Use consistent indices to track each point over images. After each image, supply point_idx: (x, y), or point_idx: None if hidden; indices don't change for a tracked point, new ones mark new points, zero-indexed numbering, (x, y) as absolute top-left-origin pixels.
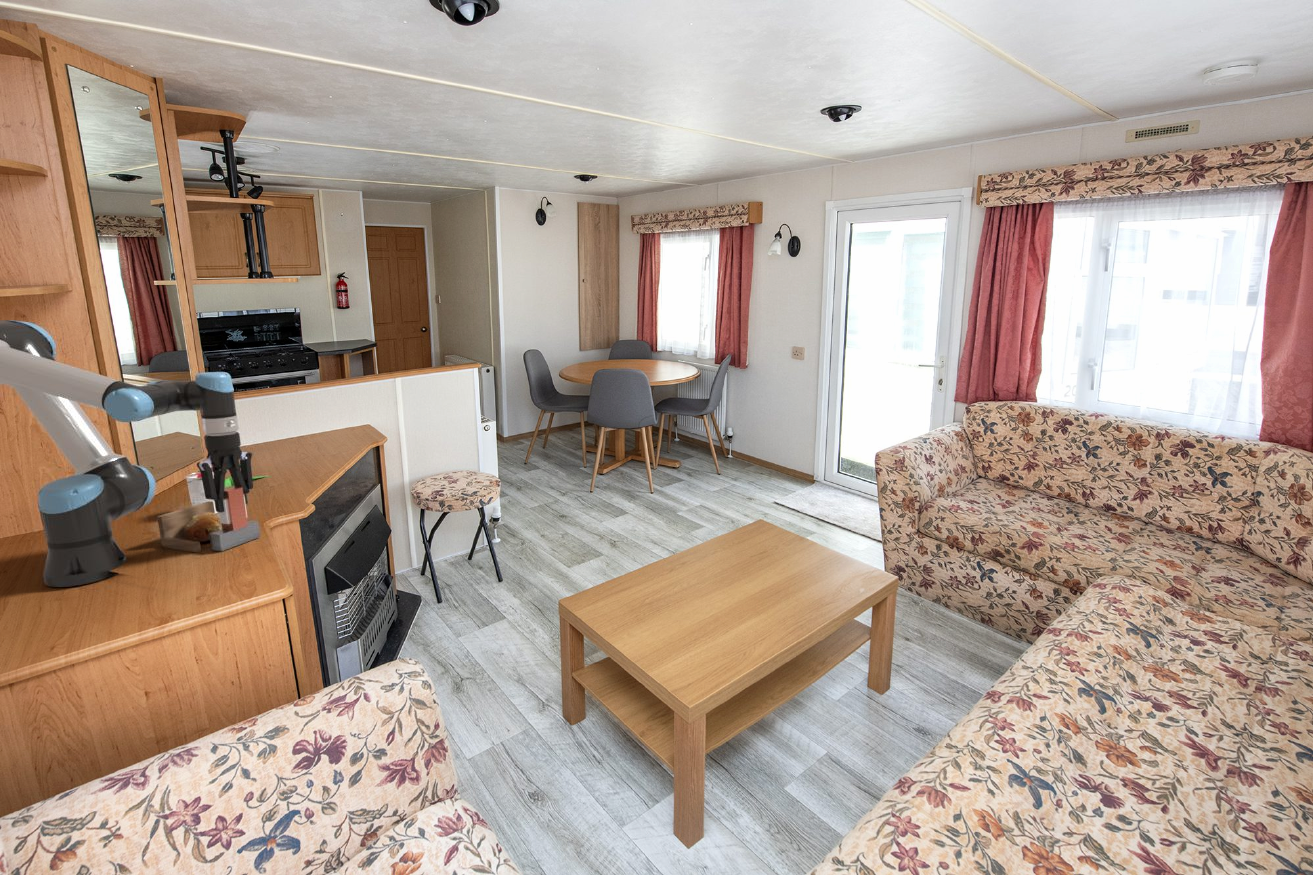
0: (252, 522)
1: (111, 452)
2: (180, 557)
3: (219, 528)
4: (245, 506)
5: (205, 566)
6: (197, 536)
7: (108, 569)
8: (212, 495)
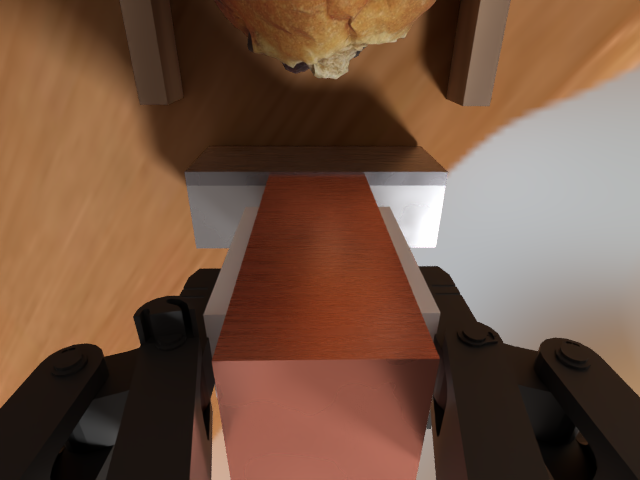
0: (414, 233)
1: None
2: (81, 82)
3: (321, 67)
4: None
5: (97, 283)
6: None
7: None
8: (63, 471)
